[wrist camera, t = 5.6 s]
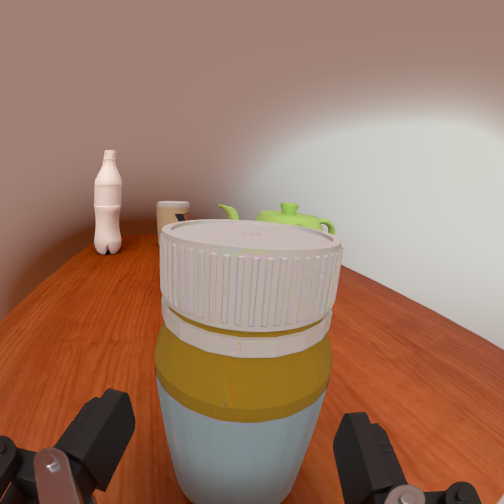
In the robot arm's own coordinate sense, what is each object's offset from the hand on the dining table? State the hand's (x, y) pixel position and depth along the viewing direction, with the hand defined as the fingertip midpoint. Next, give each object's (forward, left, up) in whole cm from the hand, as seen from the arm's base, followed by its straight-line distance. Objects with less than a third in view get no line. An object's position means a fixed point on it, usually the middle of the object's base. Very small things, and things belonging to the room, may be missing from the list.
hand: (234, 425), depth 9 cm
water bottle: (+6, +64, -9) cm, 65 cm away
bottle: (+2, +2, -9) cm, 9 cm away
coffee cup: (+25, +67, -9) cm, 72 cm away
